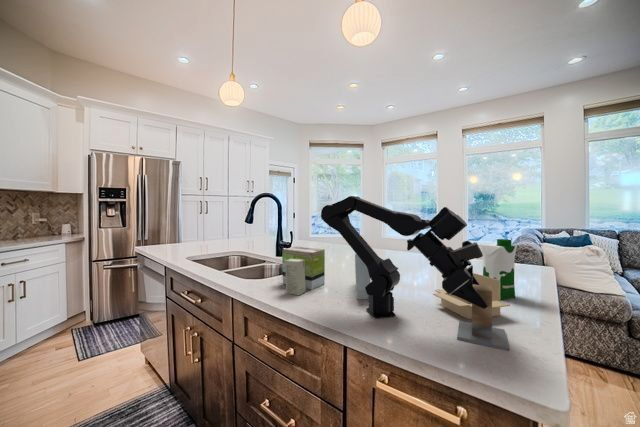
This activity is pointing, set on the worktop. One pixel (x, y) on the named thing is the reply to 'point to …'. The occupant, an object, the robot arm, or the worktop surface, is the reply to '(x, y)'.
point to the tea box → (307, 264)
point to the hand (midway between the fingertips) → (485, 301)
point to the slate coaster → (497, 337)
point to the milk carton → (500, 265)
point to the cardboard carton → (466, 309)
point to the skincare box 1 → (295, 276)
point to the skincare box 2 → (361, 278)
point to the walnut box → (482, 313)
